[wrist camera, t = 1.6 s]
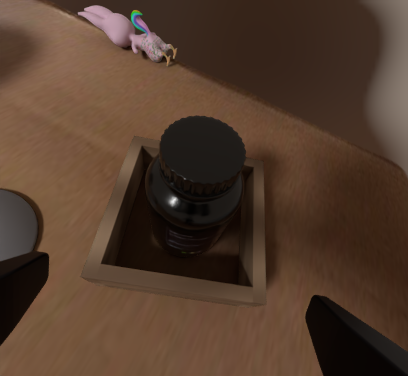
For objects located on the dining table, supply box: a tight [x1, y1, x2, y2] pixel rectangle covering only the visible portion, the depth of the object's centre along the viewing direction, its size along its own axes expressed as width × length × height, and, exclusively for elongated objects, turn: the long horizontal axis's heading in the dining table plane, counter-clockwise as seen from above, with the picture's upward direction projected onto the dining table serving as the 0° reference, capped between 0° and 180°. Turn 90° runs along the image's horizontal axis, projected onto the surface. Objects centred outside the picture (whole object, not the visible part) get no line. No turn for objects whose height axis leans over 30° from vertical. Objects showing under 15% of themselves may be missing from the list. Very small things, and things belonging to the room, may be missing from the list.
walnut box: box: [80, 136, 266, 308], centre depth 21 cm, size 13×13×4 cm
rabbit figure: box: [78, 6, 177, 67], centre depth 34 cm, size 6×6×15 cm
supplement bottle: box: [145, 116, 246, 257], centre depth 17 cm, size 7×7×12 cm
